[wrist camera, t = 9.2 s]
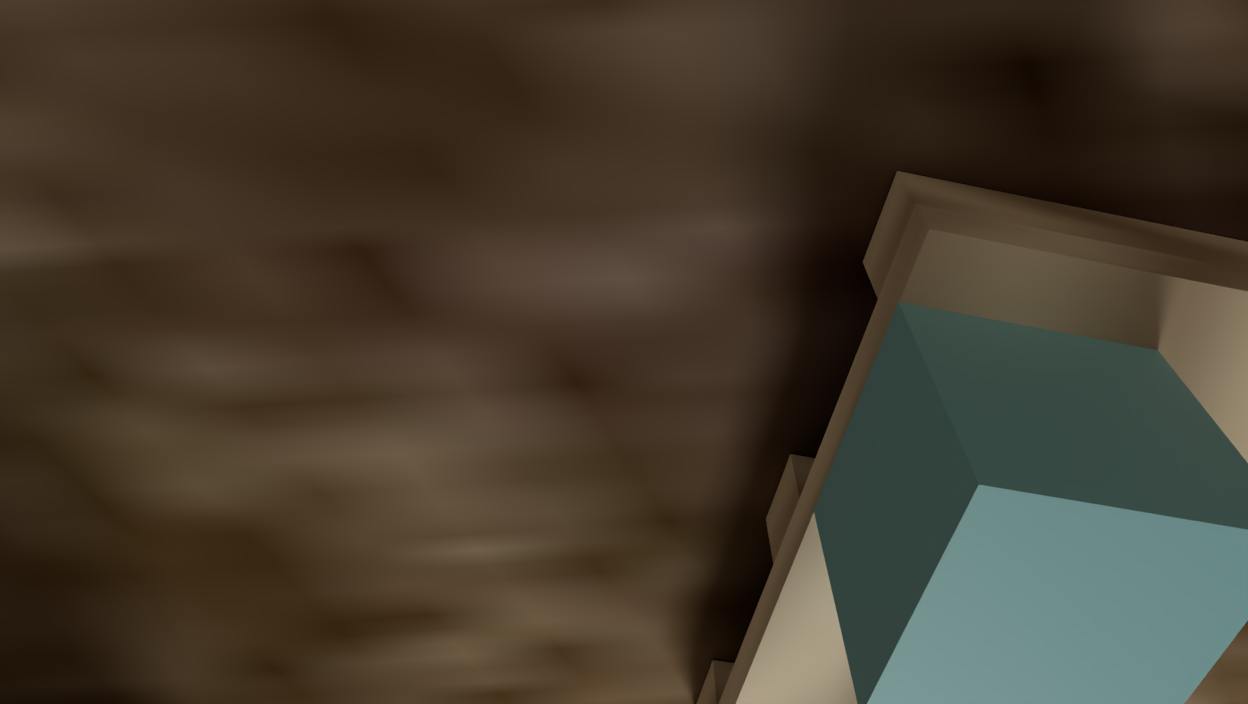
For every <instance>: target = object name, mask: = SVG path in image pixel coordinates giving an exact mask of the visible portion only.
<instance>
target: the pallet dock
mask: <svg viewBox="0 0 1248 704" xmlns="http://www.w3.org/2000/svg"><path fill="white" fill-rule="evenodd" d="M863 264H864V267H865V269H866V272H867V274H868V276H869V279H870V281H871V284H872V286H873V289H874V291H875V294H876V296H877V298H878V300H877V303H876V306H875V308H874V311H873V313H872V316H871V318H870V321H869V323H868V326H867V328H866V331H865V333H864V336H863V339H862V341H861V344H860V346H859V349H858V351H857V354H856V356H855V359H854V361H853V364H852V366H851V369H850V371H849V374H848V377H847V379H846V382H845V384H844V387H843V389H842V392H841V394H840V397H839V399H838V402H837V404H836V407H835V410H834V412H833V415H832V417H831V420H830V422H829V425H828V427H827V430H826V432H825V435H824V437H823V440H822V443H821V445H820V448H819V450H818V453H817V455H816V458H811V457H805V456H799V455H793V454H790V456H789V459H788V462H787V464H786V467H785V469H784V472H783V475H782V477H781V480H780V483H779V485H778V488H777V491H776V493H775V496H774V499H773V501H772V504H771V507H770V509H769V512H768V515H767V517H766V523H767V529H768V535H769V541H770V547H771V553H772V559H773V567H772V569H771V572H770V574H769V577H768V580H767V582H766V585H765V587H764V590H763V592H762V595H761V597H760V600H759V602H758V605H757V607H756V610H755V612H754V615H753V618H752V620H751V623H750V625H749V628H748V630H747V633H746V635H745V638H744V640H743V643H742V645H741V648H740V651H739V653H738V656H737V658H736V661H735V663H731V662H724V661H717V660H713V661H712V663H711V666H710V669H709V671H708V674H707V677H706V679H705V682H704V685H703V687H702V690H701V693H700V695H699V698H698V701H697V703H696V704H858V703H857V699H856V695H855V690H854V686H853V681H852V677H851V673H850V668H849V664H848V660H847V655H846V651H845V646H844V642H843V638H842V633H841V629H840V624H839V620H838V616H837V611H836V607H835V602H834V598H833V594H832V589H831V585H830V580H829V576H828V572H827V567H826V563H825V558H824V554H823V550H822V545H821V541H820V536H819V532H818V528H817V523H816V519H815V514H814V508H815V506H816V503H817V501H818V498H819V496H820V493H821V491H822V489H823V486H824V484H825V481H826V479H827V476H828V474H829V471H830V469H831V466H832V464H833V461H834V459H835V457H836V454H837V452H838V449H839V447H840V444H841V442H842V439H843V437H844V434H845V432H846V429H847V427H848V425H849V422H850V420H851V417H852V415H853V412H854V410H855V407H856V405H857V402H858V400H859V397H860V395H861V392H862V390H863V388H864V385H865V383H866V380H867V378H868V375H869V373H870V370H871V368H872V365H873V363H874V360H875V358H876V356H877V353H878V351H879V348H880V346H881V343H882V341H883V338H884V336H885V333H886V331H887V328H888V326H889V324H890V321H891V319H892V316H893V314H894V311H895V309H896V306H897V304H898V302H902V303H908V304H913V305H918V306H924V307H929V308H935V309H940V310H945V311H951V312H956V313H961V314H967V315H972V316H977V317H983V318H988V319H993V320H999V321H1004V322H1010V323H1015V324H1020V325H1026V326H1031V327H1036V328H1042V329H1047V330H1052V331H1058V332H1063V333H1068V334H1074V335H1079V336H1085V337H1090V338H1095V339H1101V340H1106V341H1111V342H1117V343H1122V344H1127V345H1133V346H1138V347H1143V348H1149V349H1154V350H1158V351H1159V352H1160V353H1161V355H1162V356H1163V357H1164V358H1165V360H1166V361H1167V362H1168V363H1169V365H1170V366H1171V367H1172V368H1173V370H1174V371H1175V372H1176V373H1177V375H1178V376H1179V377H1180V378H1181V380H1182V381H1183V382H1184V384H1185V385H1186V386H1187V387H1188V389H1189V390H1190V391H1191V392H1192V394H1193V395H1194V396H1195V397H1196V399H1197V400H1198V401H1199V402H1200V404H1201V405H1202V406H1203V407H1204V409H1205V410H1206V411H1207V412H1208V414H1209V415H1210V416H1211V417H1212V419H1213V420H1214V421H1215V422H1216V424H1217V425H1218V426H1219V427H1220V429H1221V430H1222V431H1223V433H1224V434H1225V435H1226V436H1227V438H1228V439H1229V440H1230V441H1231V443H1232V444H1233V445H1234V446H1235V448H1236V449H1237V450H1238V451H1239V453H1240V454H1241V455H1242V456H1243V458H1244V459H1245V460H1246V461H1247V463H1248V242H1247V241H1242V240H1237V239H1232V238H1227V237H1222V236H1217V235H1212V234H1207V233H1202V232H1197V231H1192V230H1187V229H1183V228H1178V227H1173V226H1168V225H1163V224H1158V223H1153V222H1148V221H1143V220H1138V219H1133V218H1128V217H1123V216H1118V215H1113V214H1108V213H1103V212H1098V211H1093V210H1088V209H1084V208H1079V207H1074V206H1069V205H1064V204H1059V203H1054V202H1049V201H1044V200H1039V199H1034V198H1029V197H1024V196H1019V195H1014V194H1009V193H1004V192H999V191H994V190H990V189H985V188H980V187H975V186H970V185H965V184H960V183H955V182H950V181H945V180H940V179H935V178H930V177H925V176H920V175H915V174H910V173H905V172H900V171H897V172H896V175H895V177H894V180H893V183H892V185H891V188H890V191H889V193H888V196H887V199H886V201H885V204H884V207H883V209H882V212H881V215H880V217H879V220H878V222H877V225H876V228H875V230H874V233H873V236H872V238H871V241H870V244H869V246H868V249H867V252H866V254H865V257H864V260H863Z"/></svg>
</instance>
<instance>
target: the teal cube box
mask: <svg viewBox="0 0 1248 704" xmlns="http://www.w3.org/2000/svg"><path fill="white" fill-rule="evenodd" d="M814 514H815V519H816V523H817V528H818V532H819V536H820V541H821V545H822V550H823V554H824V558H825V563H826V567H827V572H828V576H829V580H830V585H831V589H832V594H833V598H834V602H835V607H836V611H837V616H838V620H839V624H840V629H841V633H842V638H843V642H844V646H845V651H846V655H847V660H848V664H849V668H850V673H851V677H852V681H853V686H854V690H855V695H856V699H857V703H858V704H1184V703H1185V702H1186V701H1187V699H1188V698H1189V697H1190V695H1191V694H1192V693H1193V691H1194V690H1195V689H1196V688H1197V686H1198V685H1199V684H1200V682H1201V681H1202V680H1203V678H1204V677H1205V676H1206V674H1207V673H1208V672H1209V670H1210V669H1211V668H1212V667H1213V665H1214V664H1215V663H1216V661H1217V660H1218V659H1219V657H1220V656H1221V655H1222V653H1223V652H1224V651H1225V649H1226V648H1227V647H1228V646H1229V644H1230V643H1231V642H1232V640H1233V639H1234V638H1235V636H1236V635H1237V634H1238V632H1239V631H1240V630H1241V629H1242V627H1243V626H1244V625H1245V623H1246V622H1247V621H1248V463H1247V461H1246V460H1245V459H1244V458H1243V456H1242V455H1241V454H1240V453H1239V451H1238V450H1237V449H1236V448H1235V446H1234V445H1233V444H1232V443H1231V441H1230V440H1229V439H1228V438H1227V436H1226V435H1225V434H1224V433H1223V431H1222V430H1221V429H1220V427H1219V426H1218V425H1217V424H1216V422H1215V421H1214V420H1213V419H1212V417H1211V416H1210V415H1209V414H1208V412H1207V411H1206V410H1205V409H1204V407H1203V406H1202V405H1201V404H1200V402H1199V401H1198V400H1197V399H1196V397H1195V396H1194V395H1193V394H1192V392H1191V391H1190V390H1189V389H1188V387H1187V386H1186V385H1185V384H1184V382H1183V381H1182V380H1181V378H1180V377H1179V376H1178V375H1177V373H1176V372H1175V371H1174V370H1173V368H1172V367H1171V366H1170V365H1169V363H1168V362H1167V361H1166V360H1165V358H1164V357H1163V356H1162V355H1161V353H1160V352H1159V351H1158V350H1154V349H1149V348H1143V347H1138V346H1133V345H1127V344H1122V343H1117V342H1111V341H1106V340H1101V339H1095V338H1090V337H1085V336H1079V335H1074V334H1068V333H1063V332H1058V331H1052V330H1047V329H1042V328H1036V327H1031V326H1026V325H1020V324H1015V323H1010V322H1004V321H999V320H993V319H988V318H983V317H977V316H972V315H967V314H961V313H956V312H951V311H945V310H940V309H935V308H929V307H924V306H918V305H913V304H908V303H902V302H898V304H897V306H896V309H895V311H894V314H893V316H892V319H891V321H890V324H889V326H888V328H887V331H886V333H885V336H884V338H883V341H882V343H881V346H880V348H879V351H878V353H877V356H876V358H875V360H874V363H873V365H872V368H871V370H870V373H869V375H868V378H867V380H866V383H865V385H864V388H863V390H862V392H861V395H860V397H859V400H858V402H857V405H856V407H855V410H854V412H853V415H852V417H851V420H850V422H849V425H848V427H847V429H846V432H845V434H844V437H843V439H842V442H841V444H840V447H839V449H838V452H837V454H836V457H835V459H834V461H833V464H832V466H831V469H830V471H829V474H828V476H827V479H826V481H825V484H824V486H823V489H822V491H821V493H820V496H819V498H818V501H817V503H816V506H815V508H814Z"/></svg>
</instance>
